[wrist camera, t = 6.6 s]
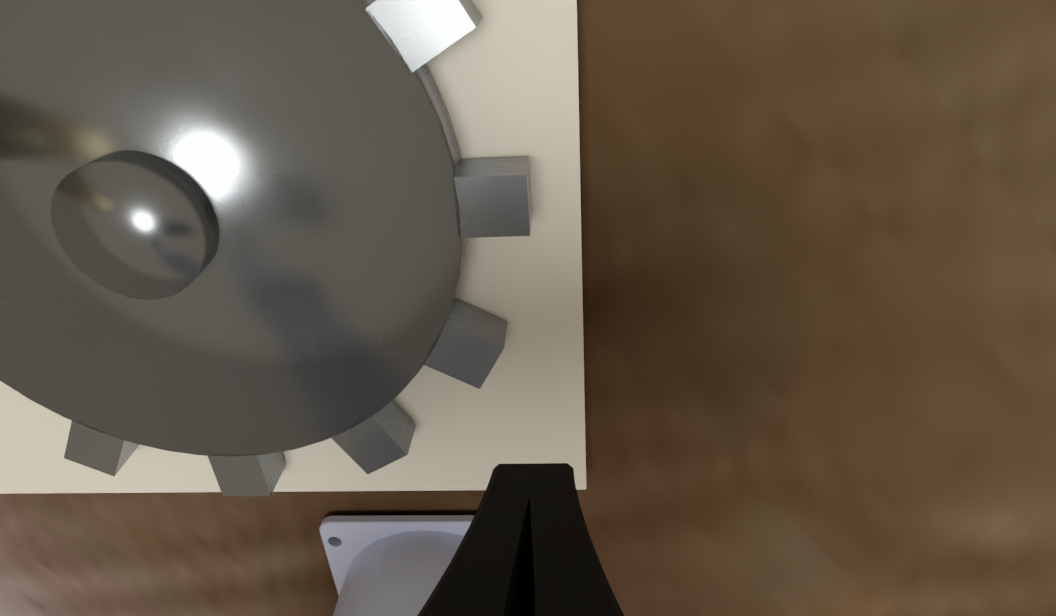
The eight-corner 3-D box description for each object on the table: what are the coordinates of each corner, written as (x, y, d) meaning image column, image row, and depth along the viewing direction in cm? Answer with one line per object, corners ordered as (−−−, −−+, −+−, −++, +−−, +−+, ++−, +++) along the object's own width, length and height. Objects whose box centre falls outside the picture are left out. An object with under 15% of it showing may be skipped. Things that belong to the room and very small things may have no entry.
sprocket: (674, 35, 16) (717, 90, 12) (381, 538, 25) (340, 681, 21) (-243, -488, 13) (-718, -715, 8) (-201, 321, 22) (-410, 436, 17)
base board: (585, 468, 25) (586, 502, 23) (-2, 474, 26) (-34, 506, 25) (568, -372, 14) (569, -403, 12) (-445, -278, 15) (-546, -297, 14)
